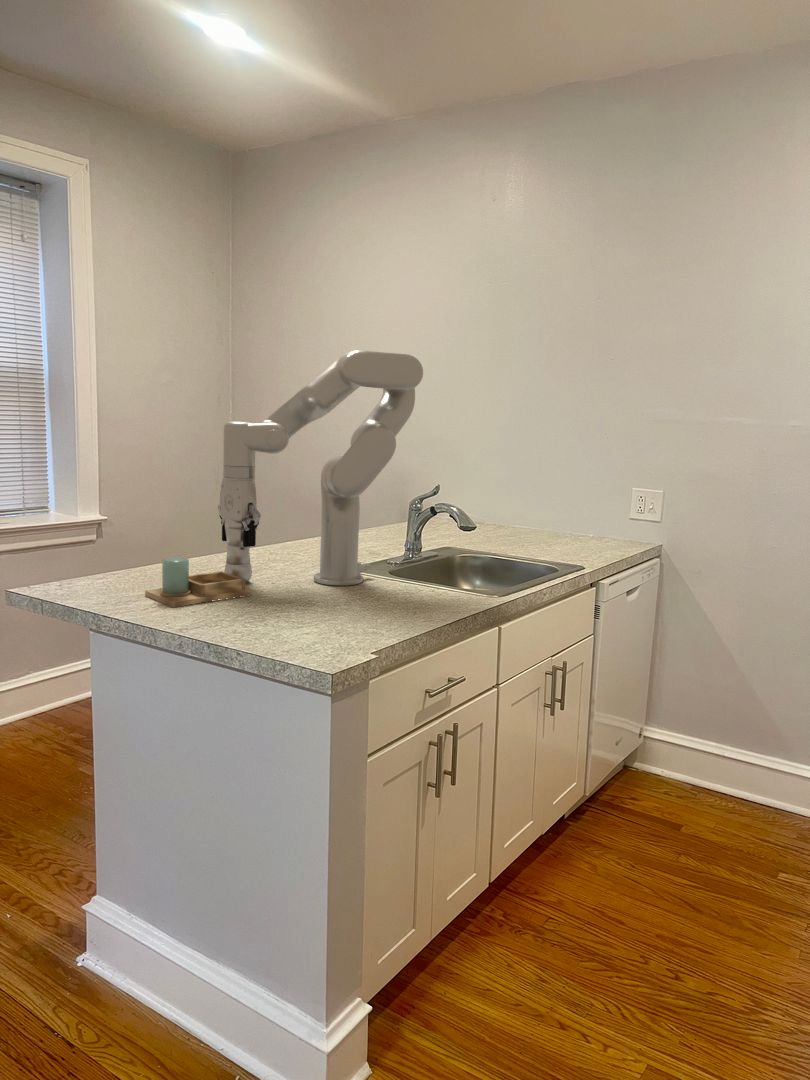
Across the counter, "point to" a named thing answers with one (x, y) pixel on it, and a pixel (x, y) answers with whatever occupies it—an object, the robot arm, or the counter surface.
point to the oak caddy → (203, 589)
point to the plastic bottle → (237, 551)
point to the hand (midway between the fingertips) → (238, 543)
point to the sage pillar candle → (175, 575)
